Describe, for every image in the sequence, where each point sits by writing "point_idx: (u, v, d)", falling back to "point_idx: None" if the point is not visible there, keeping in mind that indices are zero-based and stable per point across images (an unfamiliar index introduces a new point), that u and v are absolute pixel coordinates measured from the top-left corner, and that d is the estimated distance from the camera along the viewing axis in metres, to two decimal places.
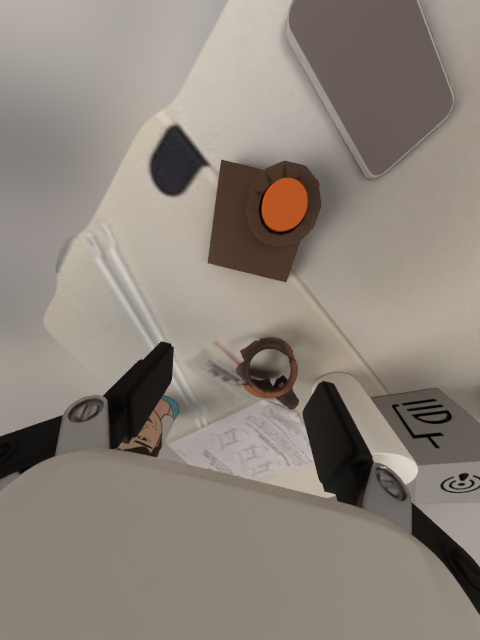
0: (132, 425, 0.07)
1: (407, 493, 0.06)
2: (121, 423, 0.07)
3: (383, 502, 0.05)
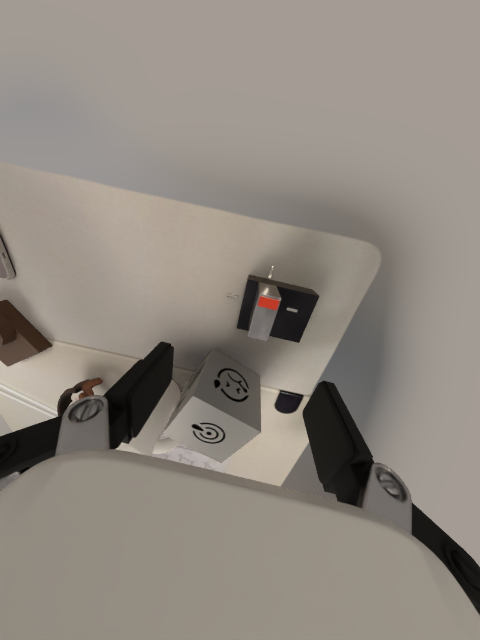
0: (132, 425, 0.07)
1: (407, 493, 0.06)
2: (121, 423, 0.07)
3: (383, 502, 0.05)
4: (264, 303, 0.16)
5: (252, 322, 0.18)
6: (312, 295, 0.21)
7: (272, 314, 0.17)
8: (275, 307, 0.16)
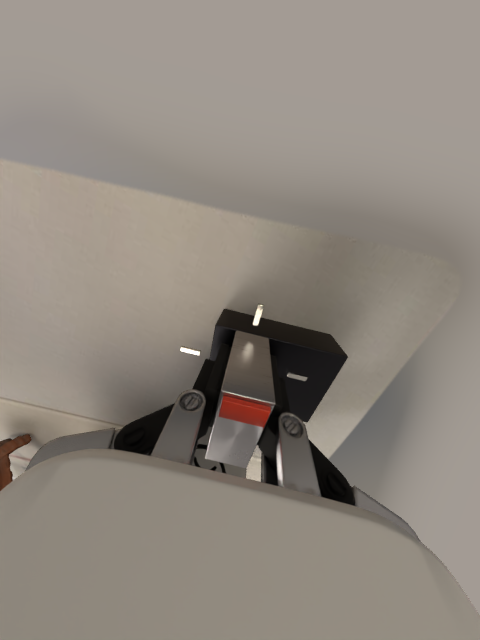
0: (214, 416, 0.09)
1: (302, 425, 0.07)
2: (211, 413, 0.08)
3: (292, 447, 0.06)
4: (234, 413, 0.07)
5: (212, 438, 0.08)
6: (335, 355, 0.11)
7: (254, 429, 0.07)
8: (260, 422, 0.07)
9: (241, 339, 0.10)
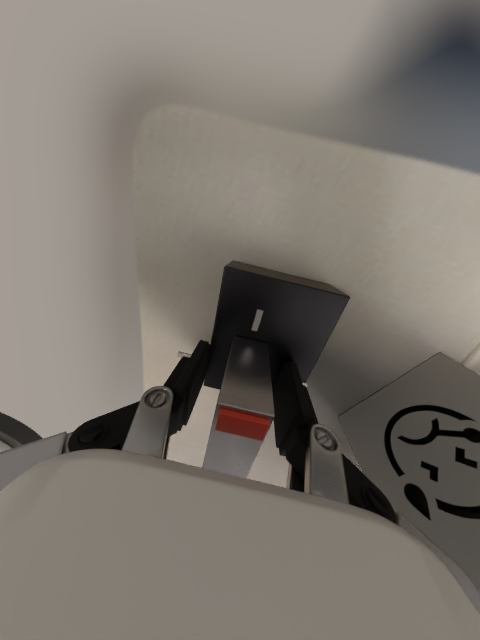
0: (186, 413, 0.08)
1: (336, 441, 0.07)
2: (180, 411, 0.08)
3: (323, 459, 0.06)
4: (231, 426, 0.06)
5: (208, 450, 0.08)
6: (224, 281, 0.09)
7: (253, 442, 0.07)
8: (259, 436, 0.06)
9: (239, 345, 0.10)
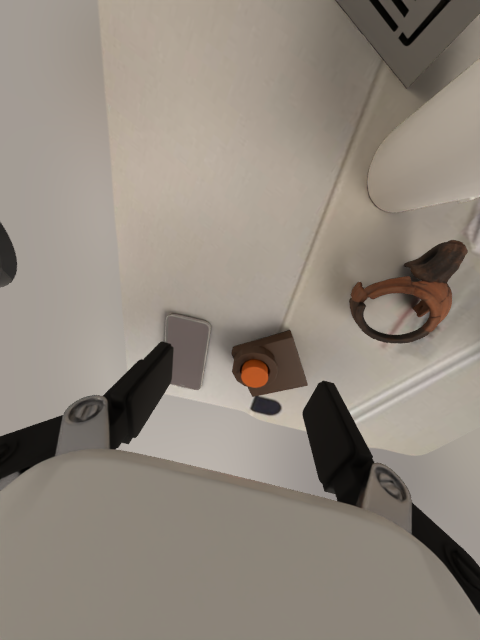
0: (132, 425, 0.07)
1: (407, 493, 0.06)
2: (121, 423, 0.07)
3: (383, 502, 0.05)
4: None
5: None
6: None
7: None
8: None
9: None
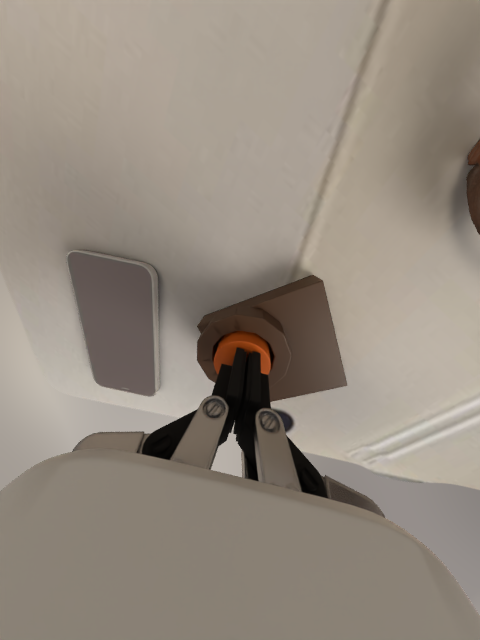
0: (233, 421, 0.09)
1: (279, 419, 0.07)
2: None
3: (271, 444, 0.06)
4: None
5: None
6: None
7: None
8: None
9: None
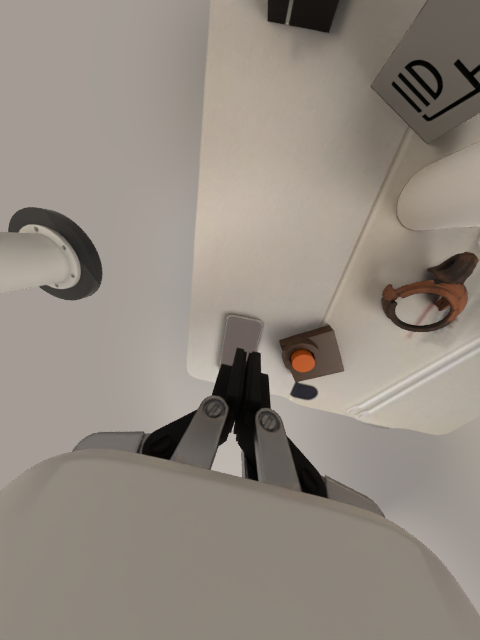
0: (233, 421, 0.09)
1: (279, 419, 0.07)
2: None
3: (271, 444, 0.06)
4: None
5: None
6: None
7: None
8: None
9: None
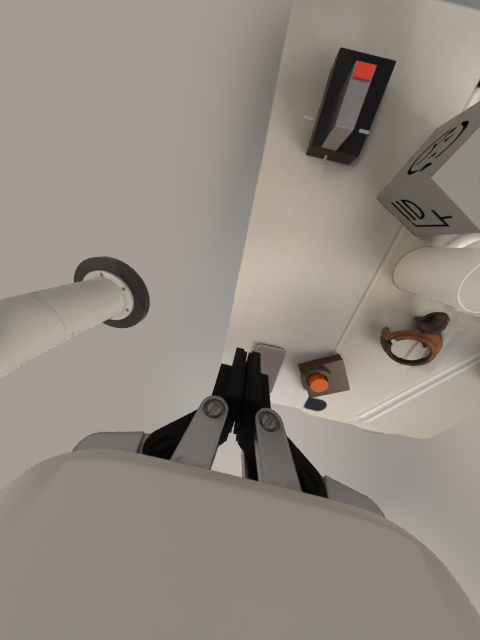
0: (233, 421, 0.09)
1: (279, 419, 0.07)
2: None
3: (271, 444, 0.06)
4: (360, 71, 0.18)
5: (343, 103, 0.19)
6: (338, 57, 0.21)
7: (364, 89, 0.18)
8: (370, 75, 0.18)
9: None
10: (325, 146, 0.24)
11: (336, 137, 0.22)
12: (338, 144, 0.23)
